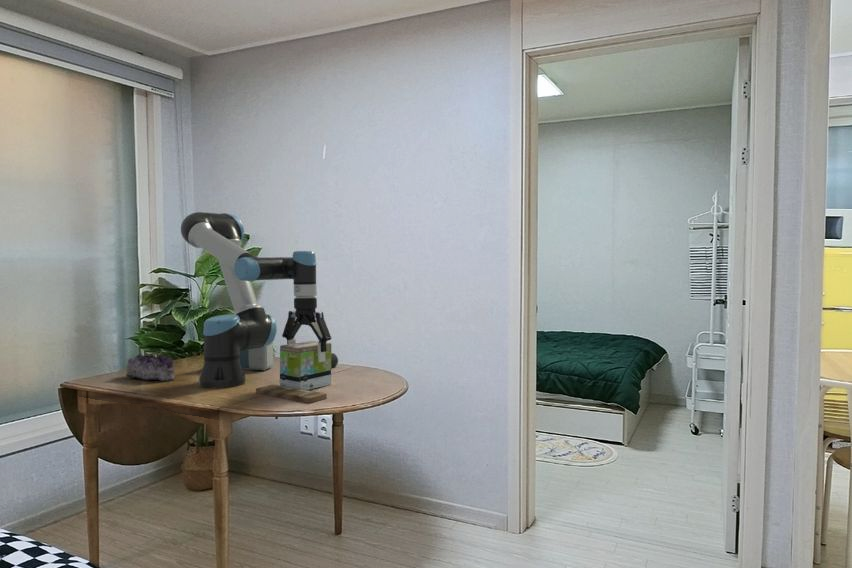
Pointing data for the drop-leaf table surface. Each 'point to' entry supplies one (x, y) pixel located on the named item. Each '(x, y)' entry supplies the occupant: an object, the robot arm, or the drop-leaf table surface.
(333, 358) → the flashlight
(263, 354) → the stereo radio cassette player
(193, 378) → the drop-leaf table surface
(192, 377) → the drop-leaf table surface
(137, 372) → the geode
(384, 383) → the drop-leaf table surface
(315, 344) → the tea box
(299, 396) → the walnut plank
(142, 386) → the drop-leaf table surface
